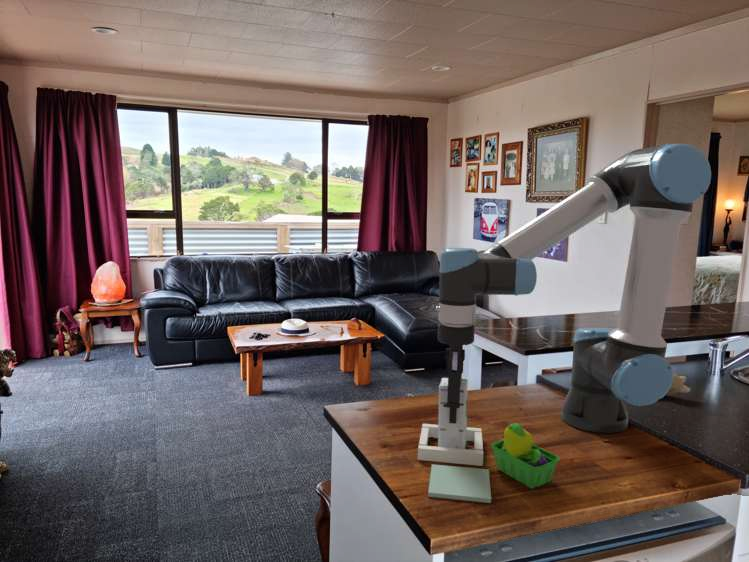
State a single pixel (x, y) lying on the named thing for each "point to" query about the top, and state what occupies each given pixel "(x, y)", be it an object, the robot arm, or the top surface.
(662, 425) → the top surface
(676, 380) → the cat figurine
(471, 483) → the mat
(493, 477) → the top surface
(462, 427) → the syrup box
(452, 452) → the white open square frame
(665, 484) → the top surface
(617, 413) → the robot arm
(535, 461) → the fruit basket
